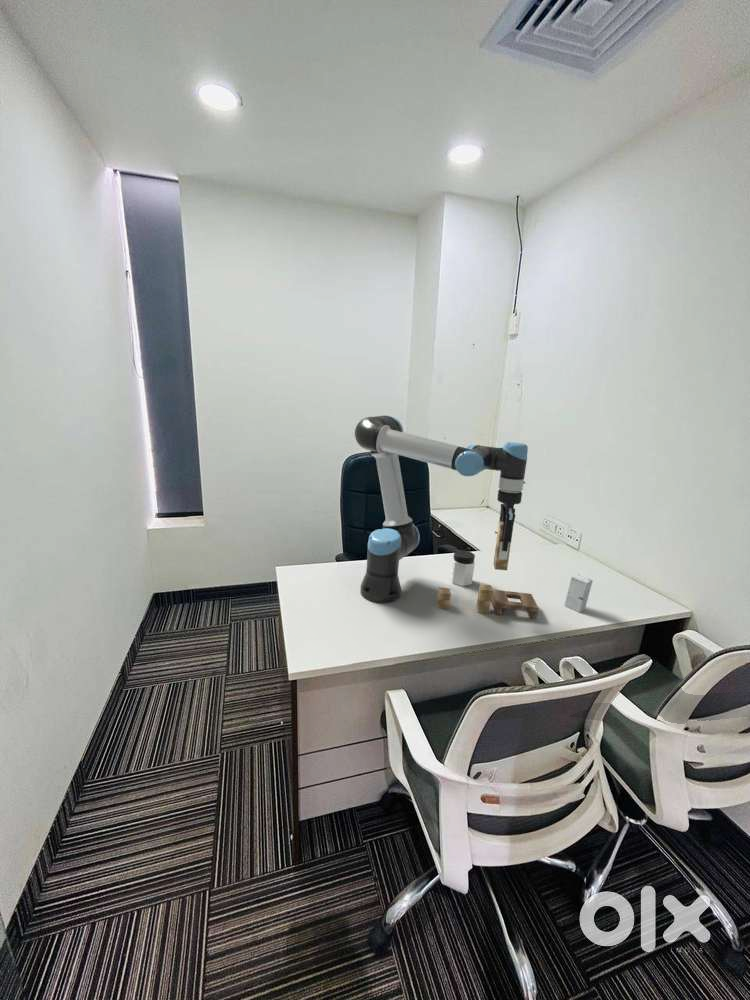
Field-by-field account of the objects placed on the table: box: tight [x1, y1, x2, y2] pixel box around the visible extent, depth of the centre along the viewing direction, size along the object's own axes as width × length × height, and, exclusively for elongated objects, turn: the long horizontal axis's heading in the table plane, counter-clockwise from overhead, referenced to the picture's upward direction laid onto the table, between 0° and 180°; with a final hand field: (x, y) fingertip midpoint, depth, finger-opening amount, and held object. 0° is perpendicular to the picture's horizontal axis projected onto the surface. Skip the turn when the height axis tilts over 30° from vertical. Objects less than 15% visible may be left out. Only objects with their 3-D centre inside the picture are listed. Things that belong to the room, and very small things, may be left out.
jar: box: [449, 549, 476, 587], centre depth 166 cm, size 9×8×12 cm
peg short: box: [436, 587, 452, 610], centre depth 147 cm, size 4×4×6 cm
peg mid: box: [475, 583, 494, 615], centre depth 145 cm, size 4×4×9 cm
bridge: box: [491, 589, 539, 620], centre depth 148 cm, size 14×10×4 cm
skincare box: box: [564, 573, 593, 613], centre depth 151 cm, size 6×4×12 cm
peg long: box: [493, 521, 512, 571], centre depth 141 cm, size 4×4×16 cm
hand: (501, 556), depth 142 cm, fingers closed on peg long, 4 cm apart
